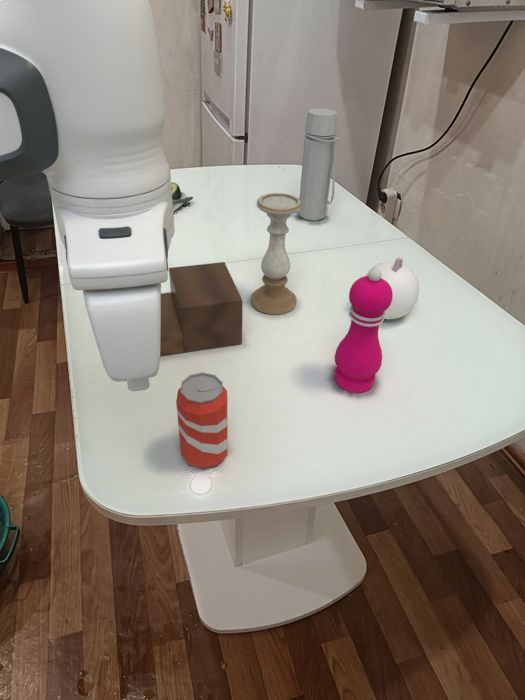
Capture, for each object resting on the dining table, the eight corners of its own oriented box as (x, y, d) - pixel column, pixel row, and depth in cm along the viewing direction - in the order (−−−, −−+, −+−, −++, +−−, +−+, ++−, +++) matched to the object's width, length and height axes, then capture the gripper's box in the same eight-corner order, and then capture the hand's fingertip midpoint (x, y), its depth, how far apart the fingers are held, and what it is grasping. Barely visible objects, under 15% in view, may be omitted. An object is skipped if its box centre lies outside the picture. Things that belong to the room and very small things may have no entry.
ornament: (409, 334, 92) (425, 276, 84) (353, 323, 94) (363, 265, 86) (413, 304, 100) (428, 249, 92) (361, 295, 102) (371, 239, 94)
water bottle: (291, 216, 130) (299, 111, 115) (309, 208, 135) (319, 105, 119) (320, 227, 125) (333, 119, 110) (338, 218, 130) (352, 113, 115)
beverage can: (234, 463, 67) (234, 397, 60) (186, 476, 66) (181, 409, 58) (221, 431, 72) (220, 365, 64) (176, 441, 70) (170, 375, 62)
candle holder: (262, 319, 94) (267, 214, 81) (243, 295, 100) (245, 194, 87) (304, 309, 97) (315, 206, 84) (283, 286, 103) (290, 188, 90)
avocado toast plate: (163, 229, 122) (162, 210, 119) (99, 216, 126) (96, 197, 123) (199, 200, 136) (198, 183, 133) (140, 189, 140) (138, 172, 137)
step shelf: (135, 360, 83) (128, 314, 78) (128, 316, 93) (121, 272, 87) (242, 344, 88) (242, 300, 82) (224, 303, 97) (224, 261, 92)
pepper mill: (356, 402, 77) (380, 289, 65) (321, 377, 82) (338, 267, 69) (386, 382, 81) (413, 272, 69) (351, 359, 85) (371, 251, 73)
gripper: (79, 169, 47) (102, 297, 56) (65, 283, 31) (101, 435, 40) (148, 166, 48) (161, 291, 57) (169, 274, 33) (182, 423, 41)
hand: (136, 352), depth 48 cm, fingers open, 8 cm apart
